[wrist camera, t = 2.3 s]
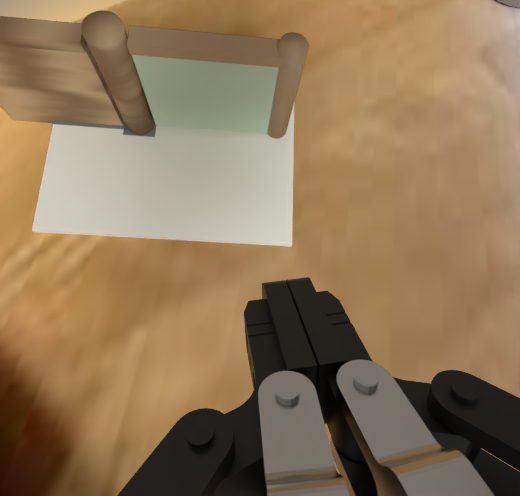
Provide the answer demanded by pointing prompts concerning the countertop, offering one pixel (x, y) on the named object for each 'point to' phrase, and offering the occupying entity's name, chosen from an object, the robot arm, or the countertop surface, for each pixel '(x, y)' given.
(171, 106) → the swing panel
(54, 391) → the countertop surface
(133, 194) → the card
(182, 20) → the countertop surface
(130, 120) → the fixed fence
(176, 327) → the countertop surface
